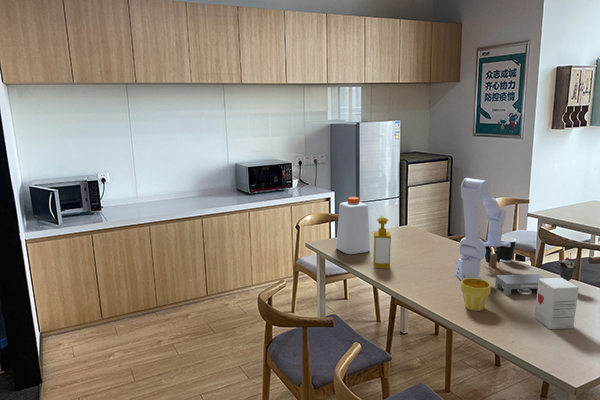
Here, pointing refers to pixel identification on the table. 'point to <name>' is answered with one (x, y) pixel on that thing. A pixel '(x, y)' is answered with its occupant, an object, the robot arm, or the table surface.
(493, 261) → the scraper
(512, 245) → the dixie cup
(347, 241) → the plastic bottle
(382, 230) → the soap bottle
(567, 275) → the sundae
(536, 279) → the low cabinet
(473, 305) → the plant pot
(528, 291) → the steel disc
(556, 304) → the supplement box
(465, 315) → the table surface
